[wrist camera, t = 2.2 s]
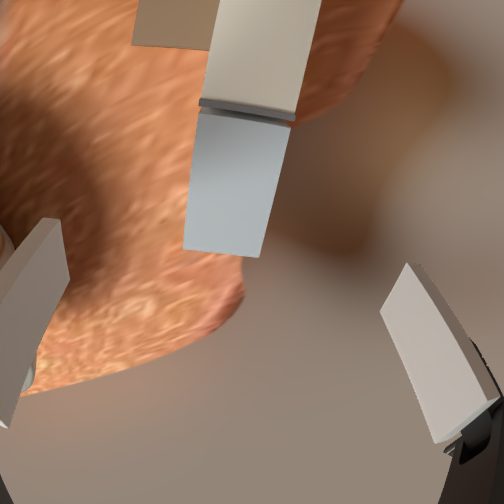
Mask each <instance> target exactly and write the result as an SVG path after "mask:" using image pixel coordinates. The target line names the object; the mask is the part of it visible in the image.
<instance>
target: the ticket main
mask: <svg viewBox="0 0 504 504" xmlns="http://www.w3.org/2000/svg"><path fill="white" fill-rule="evenodd" d="M321 1H322V0H139V5H138V10H137V15H136V20H135V26H134V31H133V37H132V44H131V45H134V46H148V47H165V48H180V49H192V50H202V51H209V56H208V62H207V67H206V73H205V78H204V84H203V90H202V96H201V99H200V100H199V106H203V107H211V108H218V109H226V110H232V111H239V112H245V113H251V114H257V115H263V116H268V117H274V118H279V119H284V120H289V121H293V122H295V118H296V113H295V110H296V106H297V102H298V98H299V93H300V89H301V85H302V81H303V77H304V73H305V69H306V64H307V60H308V56H309V52H310V48H311V43H312V39H313V35H314V31H315V27H316V22H317V18H318V14H319V10H320V5H321Z"/></svg>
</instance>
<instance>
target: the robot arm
mask: <svg viewBox="0 0 504 504" xmlns="http://www.w3.org/2000/svg"><path fill="white" fill-rule="evenodd" d="M69 281H70V276H69V271H68V265H67V260H66V254H65V249H64V242H63V236H62V229H61V221H60V219H53V218H44V217H43V218H42V219H41V220H40V221H39V222H38V224H37V225H36V226H35V227H34V228H33V230H32V231H31V232H30V233H29V234H28V236H27V237H26V238H25V239H24V240H23V242H22V243H21V244H20V245H19V247H18V248H17V249H16V251H15V252H14V253H13V254H12V256H11V257H10V258H9V260H8V261H7V262H6V264H5V265H4V266H3V268H2V269H1V271H0V425H1V426H3V427H6V428H8V429H9V426H10V423H11V420H12V417H13V414H14V411H15V407H16V404H17V401H18V398H19V396H20V393H21V390H22V387H23V384H24V382H25V379H26V376H27V374H28V371H29V369H30V366H31V364H32V361H33V359H34V356H35V354H36V351H37V349H38V347H39V344H40V342H41V340H42V337H43V335H44V333H45V331H46V328H47V326H48V324H49V322H50V320H51V318H52V315H53V313H54V311H55V309H56V307H57V305H58V303H59V301H60V299H61V297H62V295H63V293H64V291H65V289H66V287H67V285H68V283H69ZM380 313H381V315H382V317H383V320H384V322H385V324H386V326H387V328H388V330H389V333H390V335H391V337H392V339H393V341H394V344H395V346H396V348H397V350H398V353H399V355H400V357H401V359H402V362H403V364H404V366H405V369H406V371H407V374H408V376H409V378H410V381H411V383H412V386H413V388H414V391H415V393H416V395H417V398H418V401H419V403H420V406H421V408H422V411H423V413H424V416H425V419H426V421H427V424H428V427H429V430H430V433H431V435H432V438H433V441H434V444H436V443H440V442H443V441H446V440H449V439H450V438H451V437H453V436H454V435H456V434H457V433H458V432H460V431H461V434H462V436H461V437H460V438H458V439H457V440H455V441H454V442H453V443H451V444H450V445H449V446H447V447H446V448H445V450H444V453H447V452H448V451H450V450H451V449H452V448H454V447H455V449H454V450H453V451H451V452H450V453H449V454H448V455H450V456H452V457H453V458H452V461H451V465H450V468H449V472H448V475H447V478H446V482H445V485H444V488H443V491H442V494H441V497H440V499H439V502H438V504H504V396H503V395H502V392H501V390H500V388H499V386H498V384H497V382H496V380H495V378H494V377H493V375H492V373H491V371H490V369H489V367H488V366H486V362H485V360H484V358H482V355H481V353H480V351H479V349H478V348H477V346H476V344H474V342H473V341H472V340H471V339H470V338H469V337H468V335H467V334H466V332H465V330H464V329H463V327H462V325H461V324H460V322H459V321H458V319H457V317H456V316H455V314H454V313H453V311H452V310H451V308H450V307H449V305H448V303H447V302H446V300H445V299H444V297H443V296H442V295H441V293H440V291H439V290H438V289H437V287H436V285H435V284H434V283H433V281H432V280H431V278H430V277H429V275H428V274H427V273H426V271H425V270H424V268H423V267H422V266H421V264H416V263H409V262H407V263H406V265H405V267H404V269H403V271H402V272H401V274H400V276H399V278H398V280H397V282H396V284H395V285H394V287H393V289H392V291H391V293H390V295H389V296H388V298H387V300H386V301H385V303H384V305H383V307H382V309H381V310H380ZM0 504H14V503H13V501H12V499H11V497H10V495H9V493H8V491H7V489H6V487H5V484H4V482H3V480H2V478H1V475H0Z"/></svg>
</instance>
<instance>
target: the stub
mask: <svg viewBox="0 0 504 504" xmlns="http://www.w3.org/2000/svg"><path fill="white" fill-rule="evenodd" d="M290 130H291V128H290V126H289V125H288V124H287V123H286V122H285V121H284V119H279V118H274V117H268V116H263V115H257V114H251V113H245V112H239V111H232V110H226V109H218V108H211V107H203V106H202V108H201V110H200V112H199V115H198V122H197V129H196V136H195V143H194V150H193V158H192V166H191V174H190V182H189V191H188V200H187V210H186V220H185V231H184V242H183V249H186V250H195V251H204V252H213V253H221V254H230V255H239V256H248V257H257V258H258V257H259V254H260V251H261V247H262V243H263V239H264V235H265V230H266V227H267V223H268V219H269V215H270V211H271V207H272V203H273V199H274V195H275V191H276V186H277V183H278V179H279V175H280V171H281V167H282V163H283V159H284V155H285V150H286V147H287V143H288V138H289V134H290Z"/></svg>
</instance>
